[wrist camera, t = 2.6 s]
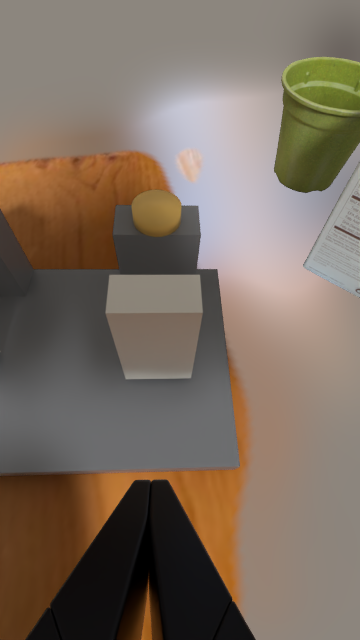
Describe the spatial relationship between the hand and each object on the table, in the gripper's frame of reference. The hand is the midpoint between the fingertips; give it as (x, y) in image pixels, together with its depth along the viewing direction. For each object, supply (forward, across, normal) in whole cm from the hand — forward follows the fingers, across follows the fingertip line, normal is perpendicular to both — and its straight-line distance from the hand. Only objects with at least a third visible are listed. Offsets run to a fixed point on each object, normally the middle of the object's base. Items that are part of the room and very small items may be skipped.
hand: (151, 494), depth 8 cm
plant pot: (+29, -15, -13) cm, 35 cm away
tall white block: (+12, 0, +1) cm, 12 cm away
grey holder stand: (+14, +5, +2) cm, 15 cm away
